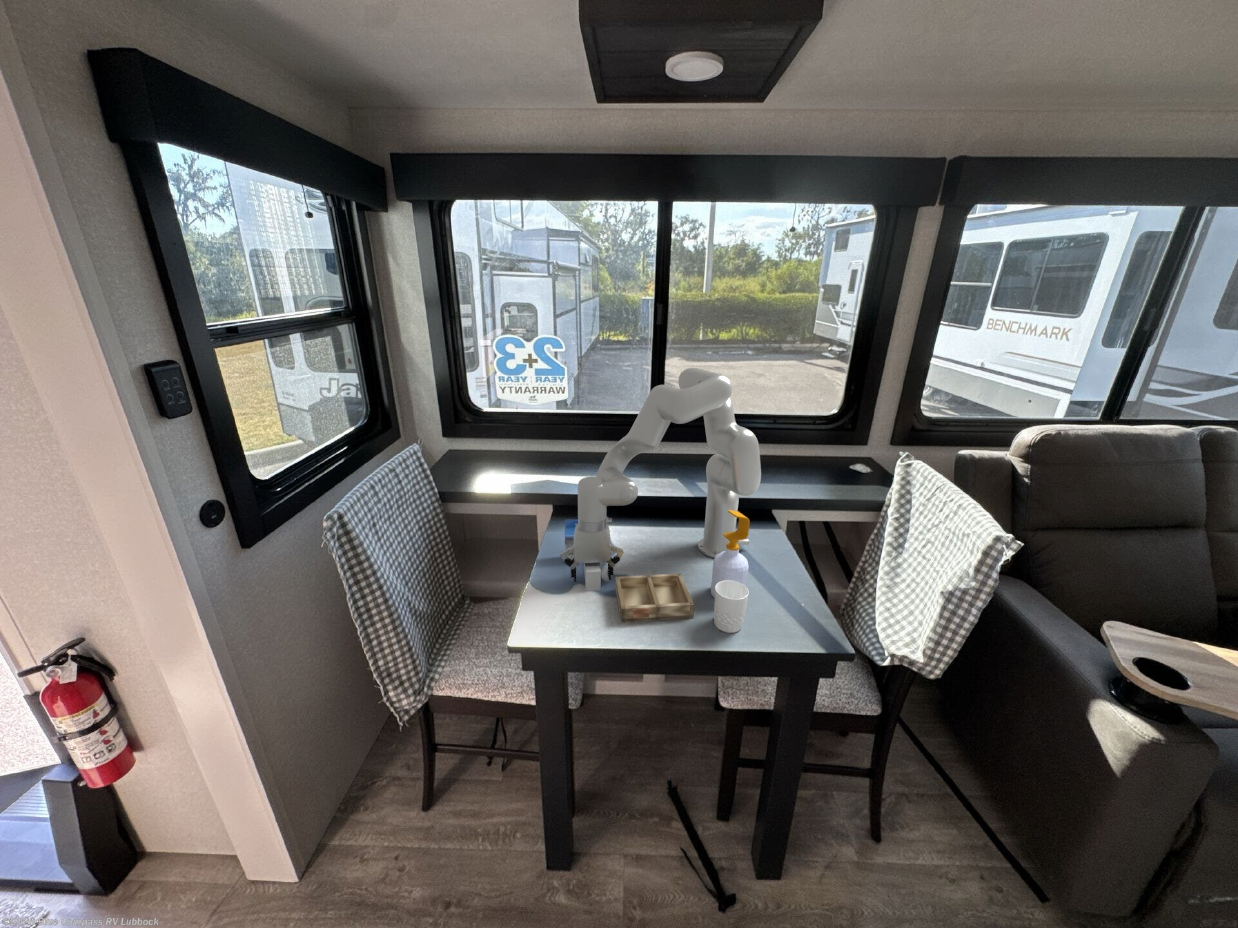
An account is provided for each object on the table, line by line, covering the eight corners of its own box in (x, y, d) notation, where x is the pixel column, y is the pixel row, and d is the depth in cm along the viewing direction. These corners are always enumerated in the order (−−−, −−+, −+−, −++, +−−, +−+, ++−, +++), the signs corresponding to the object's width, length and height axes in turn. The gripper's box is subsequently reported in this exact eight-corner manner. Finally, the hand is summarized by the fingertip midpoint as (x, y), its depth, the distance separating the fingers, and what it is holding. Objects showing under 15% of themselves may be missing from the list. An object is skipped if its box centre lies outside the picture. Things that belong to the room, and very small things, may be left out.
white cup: (721, 609, 122) (724, 576, 118) (749, 622, 117) (754, 588, 114) (705, 625, 116) (709, 590, 112) (735, 639, 111) (739, 603, 108)
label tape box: (564, 562, 142) (564, 525, 138) (565, 555, 146) (564, 519, 142) (594, 561, 142) (594, 525, 138) (594, 554, 146) (594, 518, 142)
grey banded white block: (598, 574, 136) (598, 555, 134) (600, 590, 129) (600, 571, 127) (584, 575, 136) (584, 556, 134) (585, 591, 128) (585, 571, 126)
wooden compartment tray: (679, 585, 132) (680, 572, 130) (693, 618, 118) (694, 605, 117) (615, 588, 129) (615, 576, 128) (621, 623, 116) (621, 609, 114)
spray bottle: (704, 588, 130) (711, 507, 122) (732, 582, 134) (741, 502, 125) (722, 607, 123) (731, 521, 114) (751, 600, 126) (762, 516, 117)
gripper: (622, 515, 131) (621, 569, 136) (559, 517, 129) (560, 572, 134) (626, 528, 124) (624, 584, 129) (559, 530, 122) (561, 587, 127)
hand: (592, 578), depth 132 cm, fingers open, 9 cm apart
